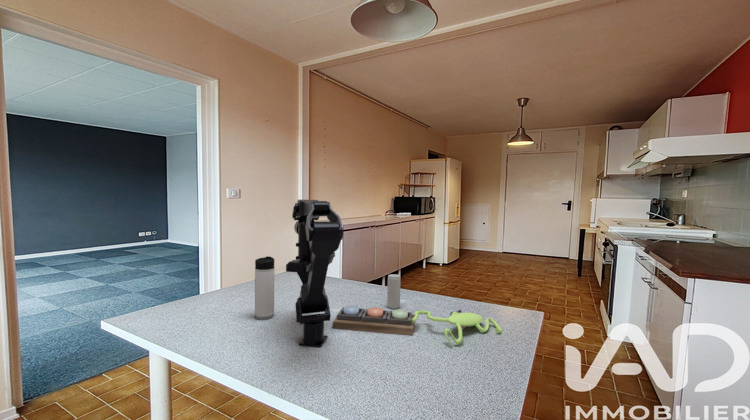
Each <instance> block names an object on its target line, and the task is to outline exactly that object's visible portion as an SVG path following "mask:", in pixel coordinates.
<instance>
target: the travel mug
mask: <svg viewBox="0 0 750 420" xmlns="http://www.w3.org/2000/svg"><path fill="white" fill-rule="evenodd" d="M254 265H255V266H254V267H255V268H254V318H255V319H256V320H260V321H261V320H262V321H263V320H270V319H272V318H273V317H274V316H275V258H274V257H272V256H264V257H260V258H257V259H255V261H254Z"/></svg>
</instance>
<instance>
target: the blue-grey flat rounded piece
mask: <svg viewBox="0 0 750 420" xmlns="http://www.w3.org/2000/svg"><path fill="white" fill-rule="evenodd" d="M343 307H344V315H354V316H358V315H359V306H357V305H346V306H343Z"/></svg>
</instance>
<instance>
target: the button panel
mask: <svg viewBox="0 0 750 420" xmlns="http://www.w3.org/2000/svg"><path fill="white" fill-rule="evenodd" d="M344 307H345V306H343V307H342V308H341V309H340V310H339V311H338V313H337V314H336V317H335V318H334V320H333V321H332V329H336V330H344V331H345V330H347V331H359V332H368V333H382V334H391V335H403V336H413V335H414V328H415V322H414V323H412V321H411V320H412V319H413V318H414V317H415V315H414V314H413V312H412V311H411V312H409V311H407V312H408V320H403V319H392V311H393V310H383V318H379V317H368V309H369V308H359V315H358V316H354V315H344Z"/></svg>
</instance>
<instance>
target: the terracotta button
mask: <svg viewBox="0 0 750 420" xmlns="http://www.w3.org/2000/svg"><path fill="white" fill-rule="evenodd" d="M367 309H368V317H379V318H383V308H380V307H369V308H367Z"/></svg>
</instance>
